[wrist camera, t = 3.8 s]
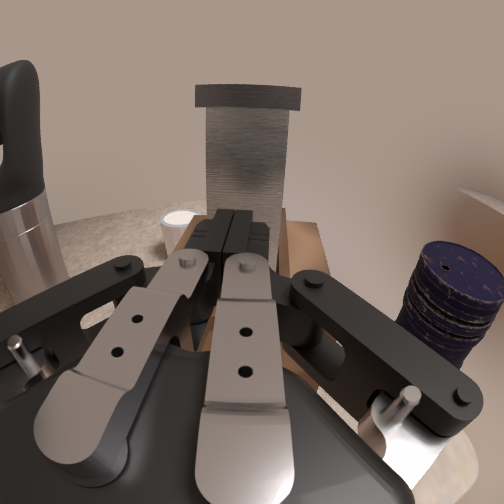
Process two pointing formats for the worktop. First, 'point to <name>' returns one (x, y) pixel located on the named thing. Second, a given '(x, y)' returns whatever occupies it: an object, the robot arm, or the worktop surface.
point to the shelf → (282, 268)
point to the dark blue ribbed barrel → (451, 299)
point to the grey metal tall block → (247, 150)
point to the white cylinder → (175, 226)
